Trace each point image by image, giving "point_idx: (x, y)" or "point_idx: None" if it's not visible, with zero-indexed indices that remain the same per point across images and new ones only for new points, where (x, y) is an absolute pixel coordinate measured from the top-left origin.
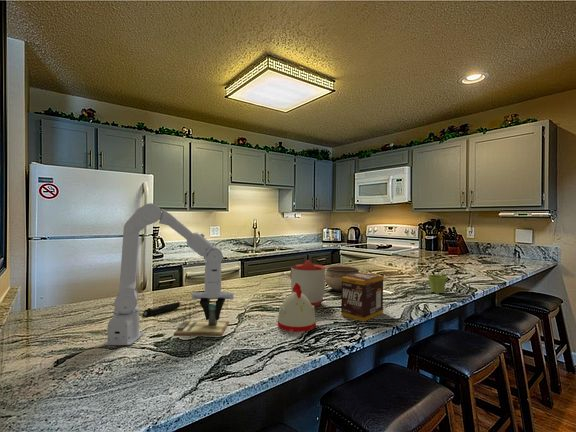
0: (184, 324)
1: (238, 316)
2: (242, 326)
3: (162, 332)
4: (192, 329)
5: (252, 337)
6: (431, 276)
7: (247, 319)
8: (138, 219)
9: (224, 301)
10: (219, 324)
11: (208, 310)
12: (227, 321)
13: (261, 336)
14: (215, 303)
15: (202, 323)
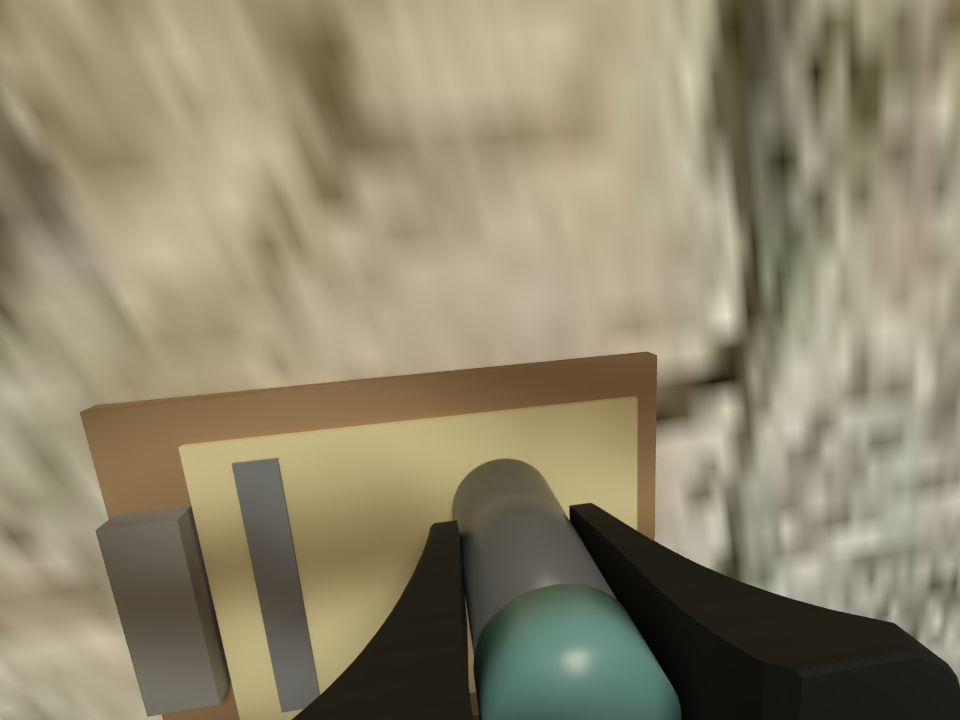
0: (173, 616)
1: (727, 88)
2: (797, 435)
3: (11, 714)
4: (331, 669)
5: None
6: None
7: (841, 205)
8: None
9: (851, 622)
10: (578, 491)
11: (462, 629)
12: (640, 364)
13: (950, 624)
14: (619, 659)
15: (366, 489)
